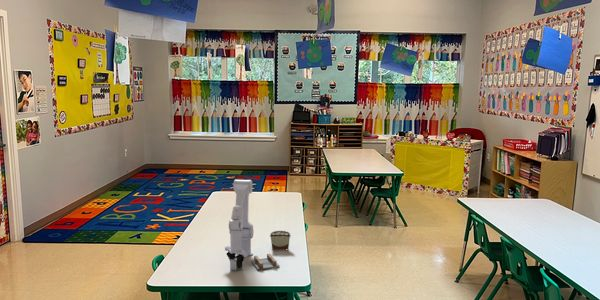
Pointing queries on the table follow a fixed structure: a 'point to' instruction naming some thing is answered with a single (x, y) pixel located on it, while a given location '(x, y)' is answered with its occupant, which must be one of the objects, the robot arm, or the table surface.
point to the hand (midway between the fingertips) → (236, 266)
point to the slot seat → (264, 263)
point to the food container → (280, 240)
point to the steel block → (234, 265)
